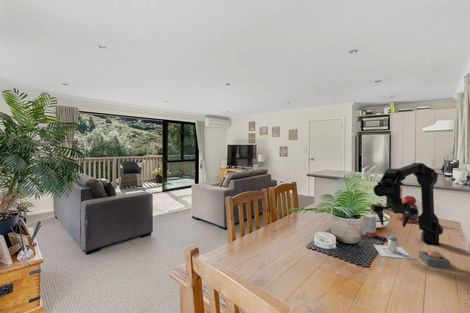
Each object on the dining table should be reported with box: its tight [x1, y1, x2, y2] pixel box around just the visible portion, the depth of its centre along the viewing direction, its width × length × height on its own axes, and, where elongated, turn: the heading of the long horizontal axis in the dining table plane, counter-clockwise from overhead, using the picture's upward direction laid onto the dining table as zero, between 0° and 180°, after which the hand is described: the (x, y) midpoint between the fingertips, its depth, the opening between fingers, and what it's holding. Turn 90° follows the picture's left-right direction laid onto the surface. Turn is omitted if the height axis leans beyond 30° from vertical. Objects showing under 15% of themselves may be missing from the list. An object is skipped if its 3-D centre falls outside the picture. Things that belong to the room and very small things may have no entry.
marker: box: [387, 235, 398, 253], centre depth 115 cm, size 4×4×7 cm
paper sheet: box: [373, 244, 415, 260], centre depth 115 cm, size 13×13×1 cm
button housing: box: [418, 250, 451, 269], centre depth 105 cm, size 8×8×3 cm
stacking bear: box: [397, 195, 420, 224], centre depth 162 cm, size 11×10×18 cm
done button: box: [426, 249, 441, 259], centre depth 104 cm, size 4×4×2 cm
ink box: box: [361, 214, 377, 238], centre depth 138 cm, size 9×5×12 cm, turn 33°
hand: (393, 226), depth 115 cm, fingers open, 9 cm apart
